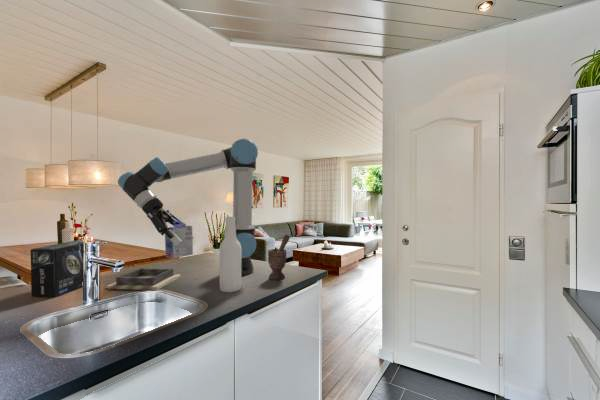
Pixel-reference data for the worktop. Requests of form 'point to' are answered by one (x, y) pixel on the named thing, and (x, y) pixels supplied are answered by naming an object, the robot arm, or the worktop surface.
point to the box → (56, 269)
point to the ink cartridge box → (184, 246)
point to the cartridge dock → (145, 279)
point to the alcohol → (230, 259)
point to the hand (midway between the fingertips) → (185, 241)
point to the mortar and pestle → (278, 260)
